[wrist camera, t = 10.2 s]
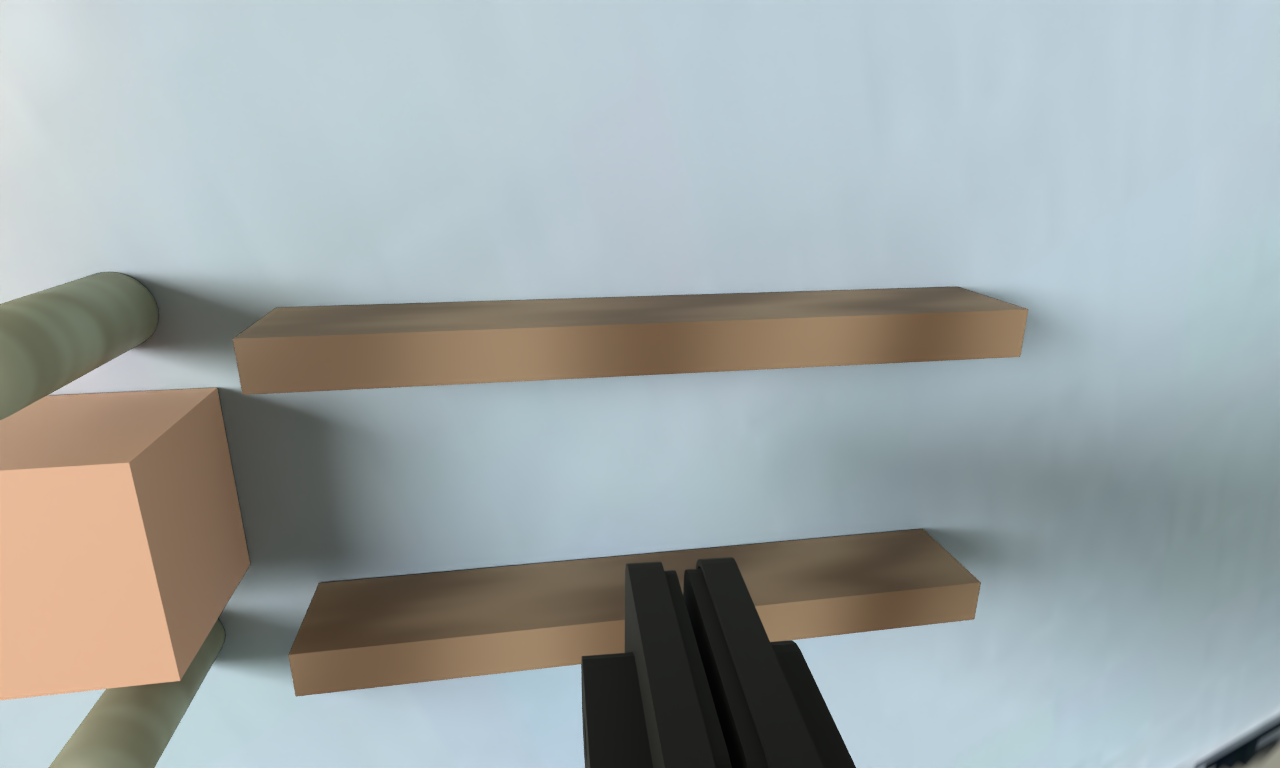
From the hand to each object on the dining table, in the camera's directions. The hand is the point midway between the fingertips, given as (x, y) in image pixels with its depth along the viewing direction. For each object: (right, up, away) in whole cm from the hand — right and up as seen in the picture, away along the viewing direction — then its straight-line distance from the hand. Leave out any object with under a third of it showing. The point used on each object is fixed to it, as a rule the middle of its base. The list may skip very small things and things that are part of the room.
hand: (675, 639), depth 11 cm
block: (-14, +1, +7) cm, 16 cm away
